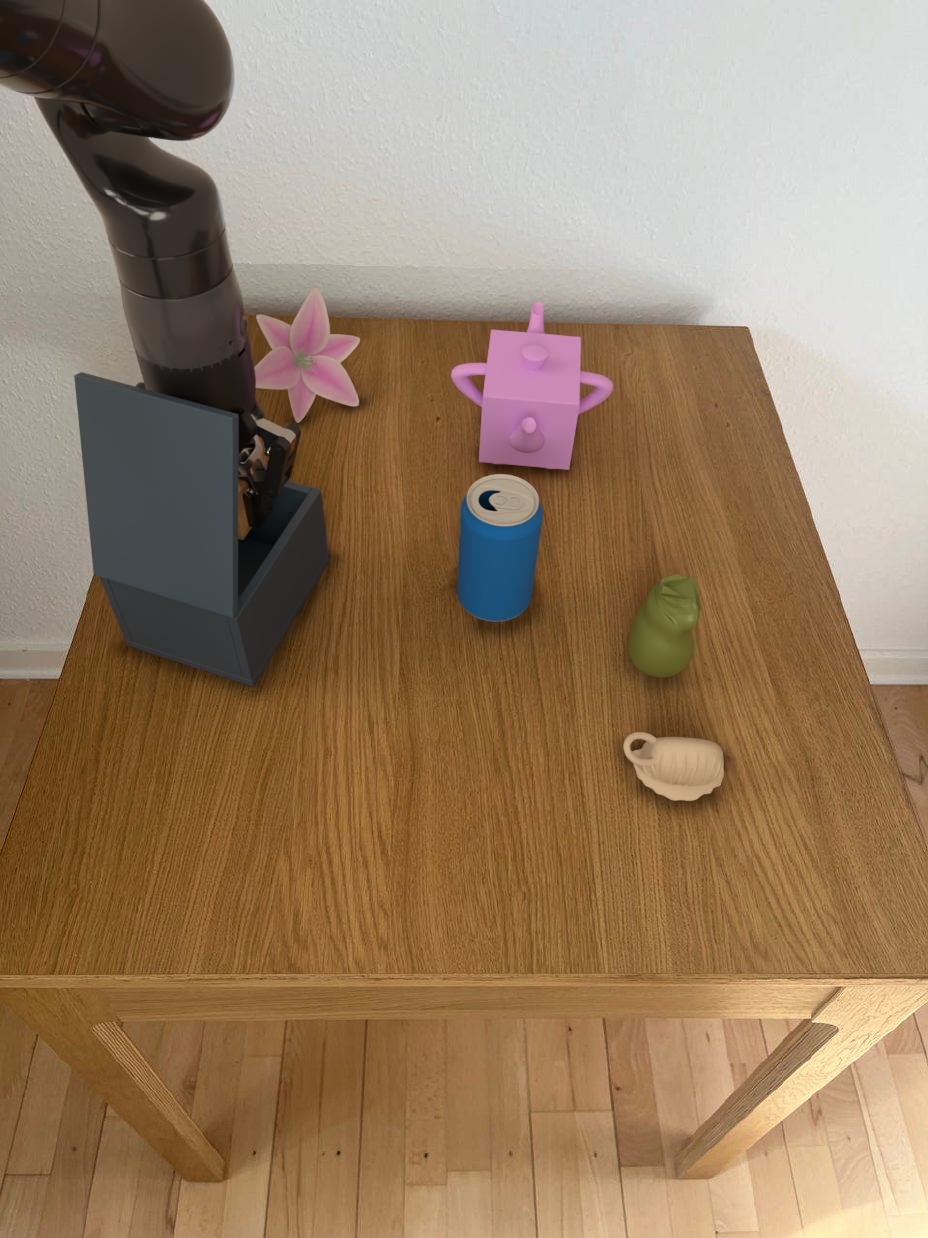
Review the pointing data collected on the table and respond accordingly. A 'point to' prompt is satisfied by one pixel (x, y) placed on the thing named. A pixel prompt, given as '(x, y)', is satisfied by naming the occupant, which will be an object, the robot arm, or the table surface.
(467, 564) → the beverage can
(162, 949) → the table surface
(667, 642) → the olive green lumpy piece
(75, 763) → the table surface
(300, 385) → the lily
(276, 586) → the chest
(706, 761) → the decorative ornament
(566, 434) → the teapot
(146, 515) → the lid
